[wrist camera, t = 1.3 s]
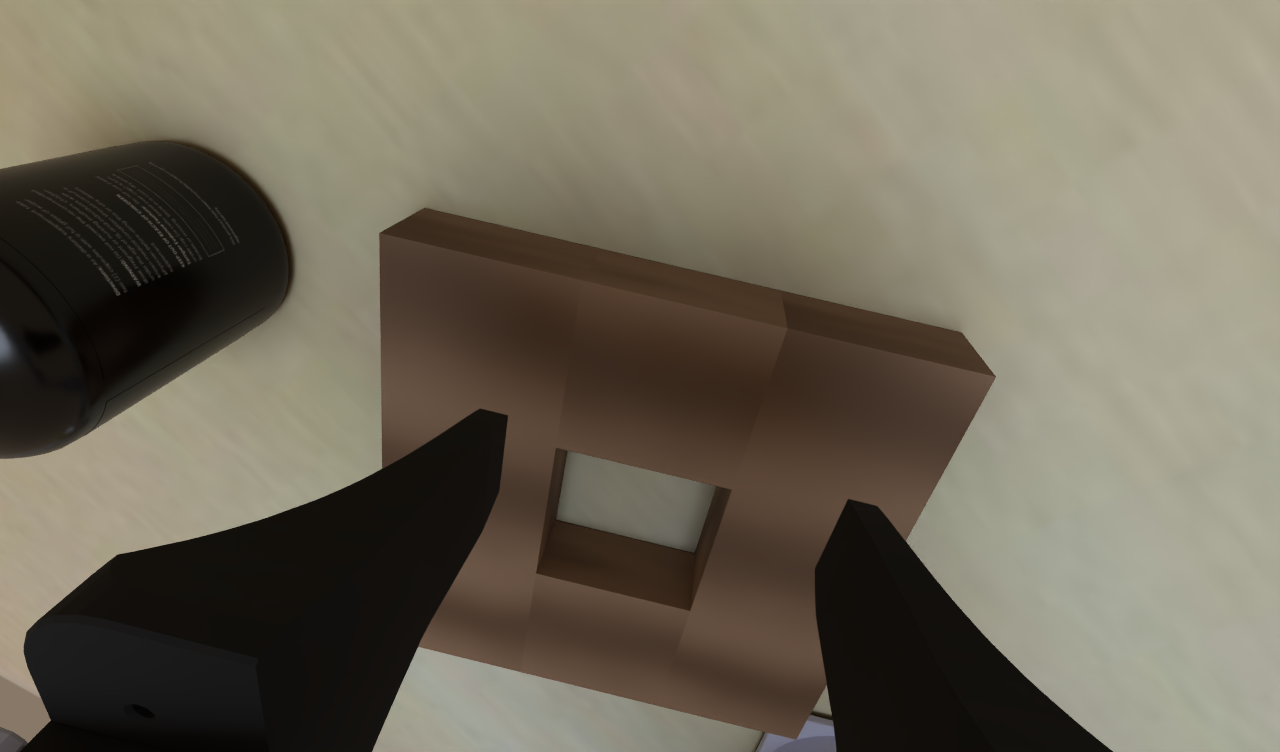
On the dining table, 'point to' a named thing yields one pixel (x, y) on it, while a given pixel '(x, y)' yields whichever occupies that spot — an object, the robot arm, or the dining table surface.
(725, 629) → the dock block
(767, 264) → the dining table surface
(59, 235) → the supplement bottle
